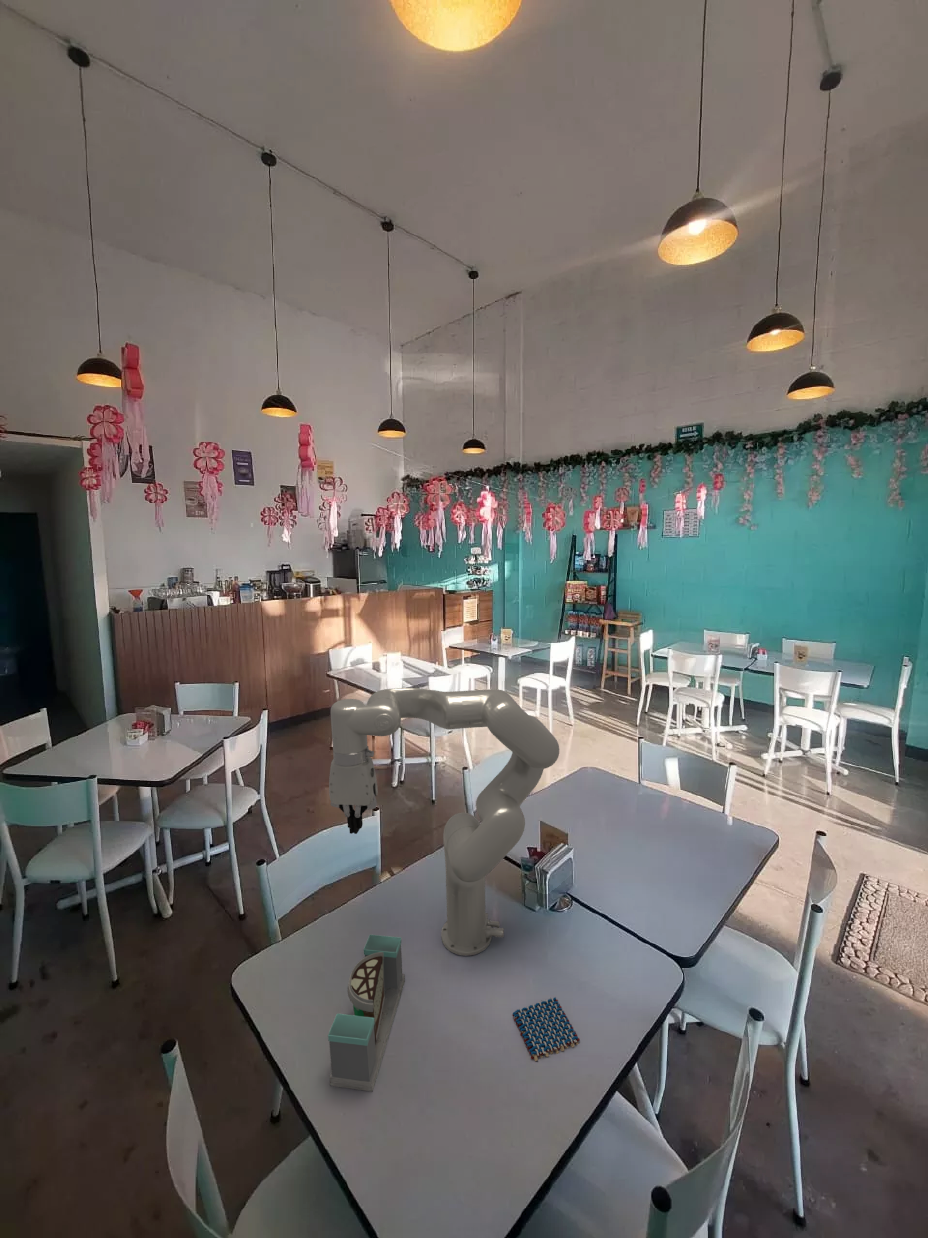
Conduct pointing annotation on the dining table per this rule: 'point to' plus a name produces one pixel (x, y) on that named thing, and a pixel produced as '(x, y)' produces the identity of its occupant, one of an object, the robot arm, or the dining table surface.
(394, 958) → the block
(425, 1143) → the dining table surface
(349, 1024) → the mounted module
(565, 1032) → the woven mat
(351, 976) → the food container
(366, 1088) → the rail
